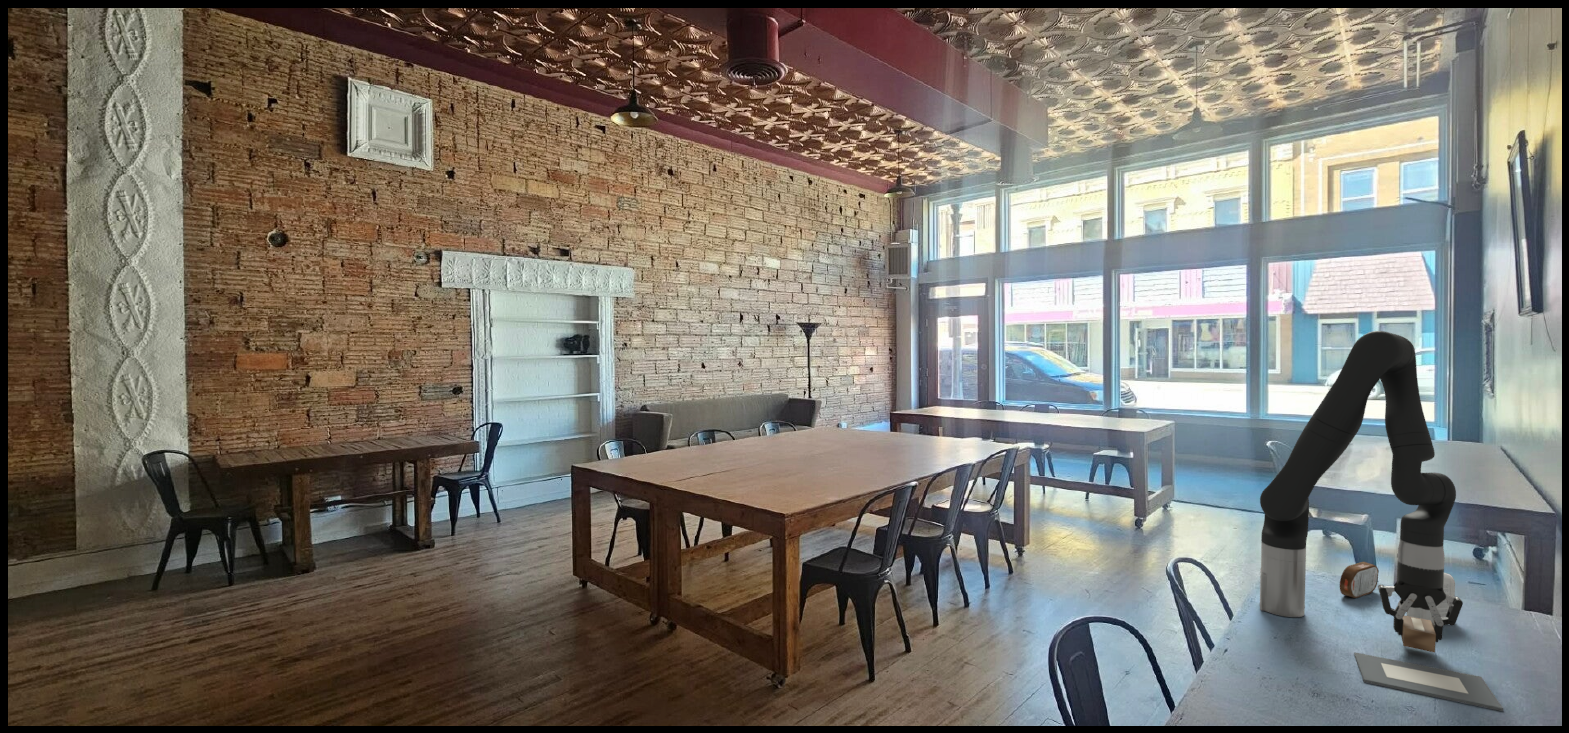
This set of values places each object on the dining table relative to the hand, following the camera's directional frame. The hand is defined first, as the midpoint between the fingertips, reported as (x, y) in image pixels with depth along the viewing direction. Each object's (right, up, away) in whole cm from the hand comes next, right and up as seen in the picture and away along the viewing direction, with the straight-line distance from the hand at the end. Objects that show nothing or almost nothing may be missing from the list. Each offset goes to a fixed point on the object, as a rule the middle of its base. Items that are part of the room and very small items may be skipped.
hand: (1417, 637), depth 150 cm
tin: (+15, -2, +33) cm, 37 cm away
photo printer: (+19, -3, +17) cm, 25 cm away
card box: (0, -1, 0) cm, 1 cm away
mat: (-10, -4, -12) cm, 16 cm away
